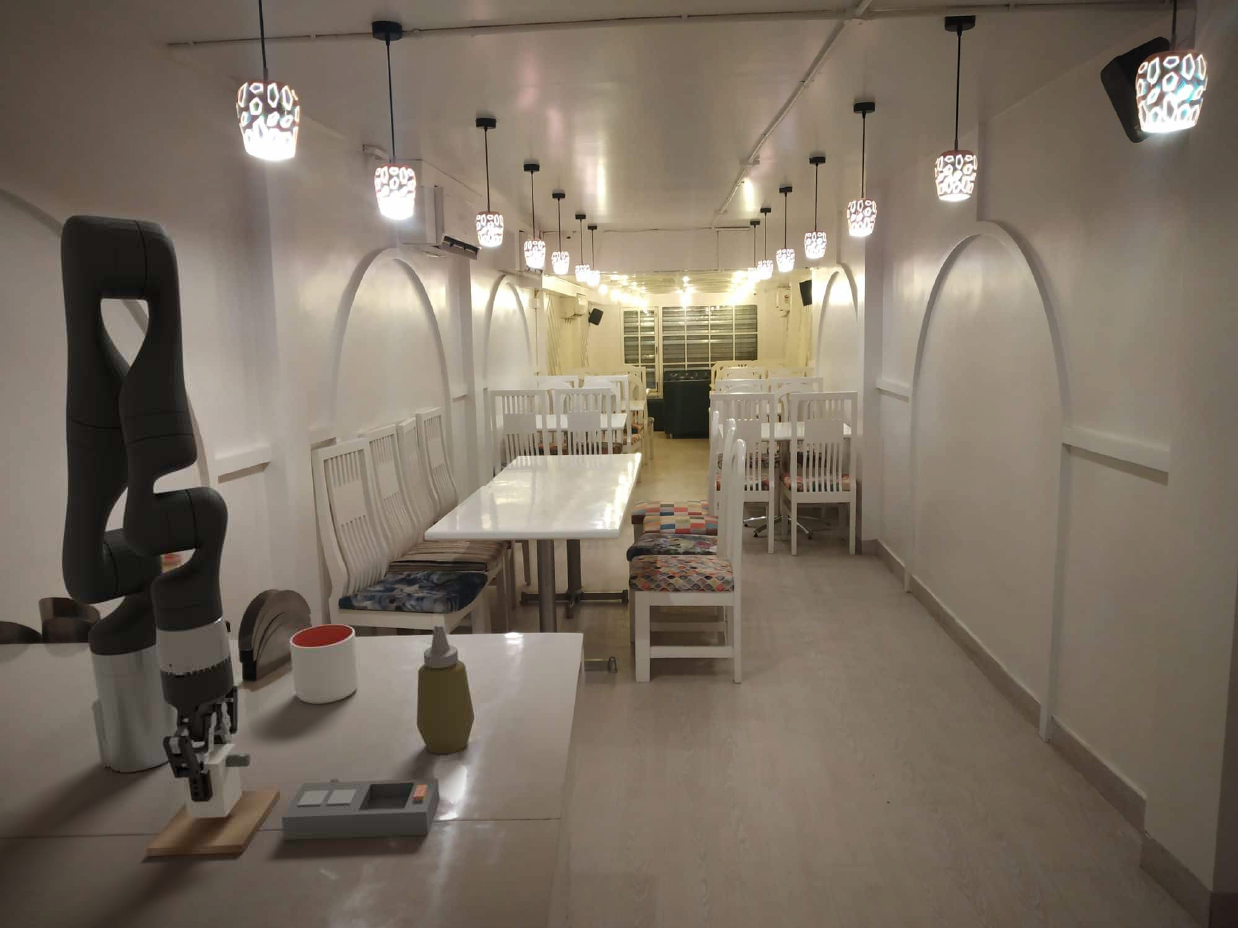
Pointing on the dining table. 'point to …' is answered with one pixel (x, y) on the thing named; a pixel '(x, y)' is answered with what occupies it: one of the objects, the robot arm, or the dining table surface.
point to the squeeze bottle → (443, 698)
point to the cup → (324, 663)
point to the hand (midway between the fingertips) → (212, 786)
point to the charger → (219, 783)
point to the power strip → (361, 809)
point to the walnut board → (216, 828)
